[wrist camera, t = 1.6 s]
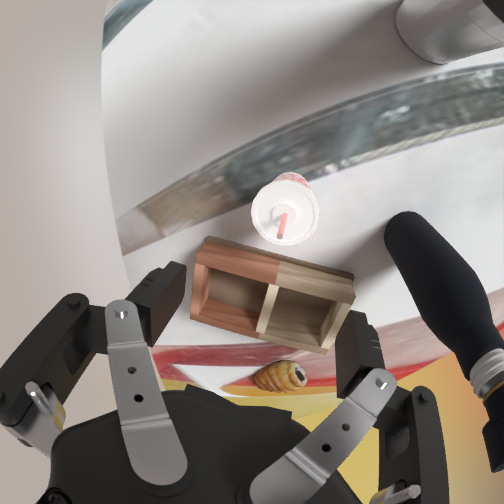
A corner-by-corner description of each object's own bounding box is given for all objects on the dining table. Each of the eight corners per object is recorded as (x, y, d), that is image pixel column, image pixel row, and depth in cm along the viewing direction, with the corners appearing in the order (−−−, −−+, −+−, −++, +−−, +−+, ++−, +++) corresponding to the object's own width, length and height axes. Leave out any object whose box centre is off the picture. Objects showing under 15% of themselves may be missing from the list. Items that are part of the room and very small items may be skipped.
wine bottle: (376, 250, 33) (450, 491, 7) (393, 204, 30) (539, 429, 4) (416, 262, 33) (507, 471, 7) (434, 219, 30) (576, 411, 4)
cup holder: (208, 235, 37) (194, 251, 33) (352, 274, 36) (358, 295, 31) (199, 299, 42) (188, 319, 38) (325, 333, 41) (326, 356, 36)
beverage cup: (275, 221, 34) (256, 281, 22) (257, 175, 32) (224, 211, 20) (322, 206, 32) (332, 261, 20) (305, 158, 30) (306, 183, 18)
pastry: (266, 387, 50) (263, 403, 46) (247, 367, 48) (243, 383, 44) (310, 376, 46) (309, 392, 43) (293, 353, 44) (291, 370, 41)
